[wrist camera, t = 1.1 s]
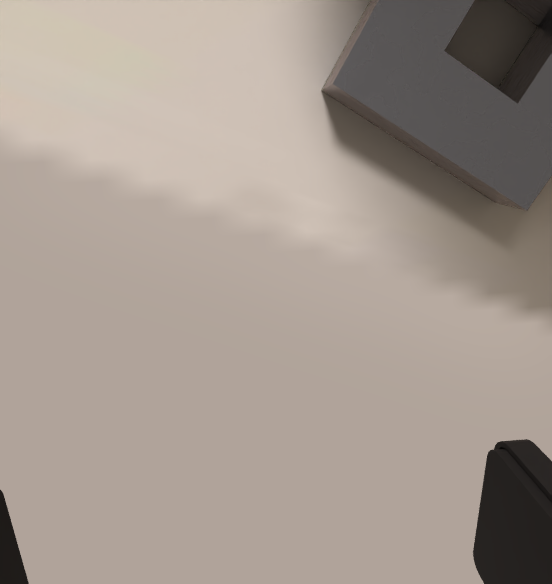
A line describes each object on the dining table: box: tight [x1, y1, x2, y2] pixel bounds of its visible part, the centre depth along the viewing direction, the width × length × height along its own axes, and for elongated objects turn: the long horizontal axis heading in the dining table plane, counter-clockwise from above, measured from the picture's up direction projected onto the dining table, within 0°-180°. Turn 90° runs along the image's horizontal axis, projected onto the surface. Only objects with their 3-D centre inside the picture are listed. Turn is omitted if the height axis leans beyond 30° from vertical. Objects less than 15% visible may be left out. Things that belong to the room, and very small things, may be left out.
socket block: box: [322, 0, 552, 210], centre depth 29 cm, size 16×16×4 cm
